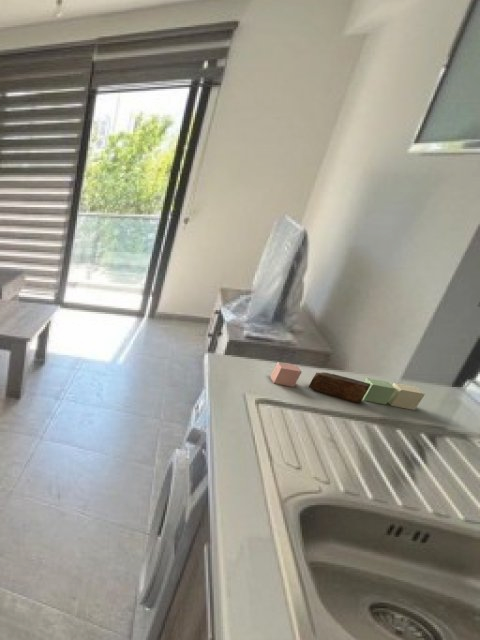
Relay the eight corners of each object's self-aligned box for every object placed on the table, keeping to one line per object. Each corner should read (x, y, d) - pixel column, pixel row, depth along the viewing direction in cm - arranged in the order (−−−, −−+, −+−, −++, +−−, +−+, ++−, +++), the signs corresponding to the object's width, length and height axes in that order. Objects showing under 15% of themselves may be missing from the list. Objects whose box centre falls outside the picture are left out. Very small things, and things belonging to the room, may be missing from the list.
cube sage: (385, 404, 120) (395, 388, 118) (363, 400, 122) (372, 384, 120) (378, 397, 124) (388, 381, 121) (356, 393, 125) (366, 377, 123)
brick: (362, 400, 122) (371, 383, 120) (359, 404, 119) (369, 387, 117) (310, 384, 129) (318, 369, 127) (306, 388, 126) (315, 372, 124)
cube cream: (414, 410, 118) (425, 394, 116) (391, 405, 120) (401, 389, 117) (406, 402, 122) (416, 386, 119) (383, 398, 123) (393, 382, 121)
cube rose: (294, 387, 127) (301, 371, 125) (273, 383, 129) (281, 368, 126) (289, 380, 131) (297, 365, 128) (270, 377, 132) (277, 362, 130)
